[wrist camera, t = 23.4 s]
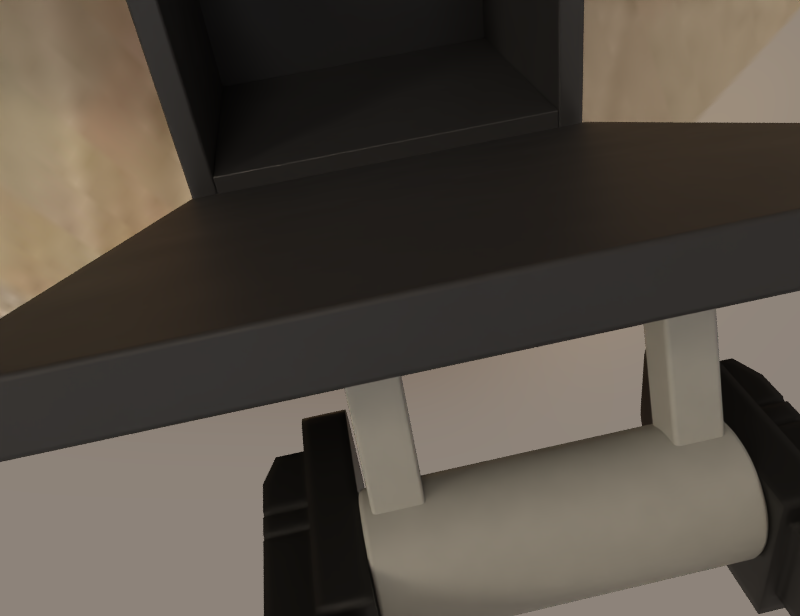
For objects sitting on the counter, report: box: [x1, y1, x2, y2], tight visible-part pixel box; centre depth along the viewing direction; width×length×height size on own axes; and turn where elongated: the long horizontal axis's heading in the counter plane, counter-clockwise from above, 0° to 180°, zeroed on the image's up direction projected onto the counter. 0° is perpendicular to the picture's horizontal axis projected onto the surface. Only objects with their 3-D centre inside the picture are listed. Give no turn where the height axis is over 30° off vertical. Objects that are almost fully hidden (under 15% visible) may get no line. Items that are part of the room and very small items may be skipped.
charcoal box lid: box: [0, 122, 800, 616], centre depth 15 cm, size 16×13×5 cm
